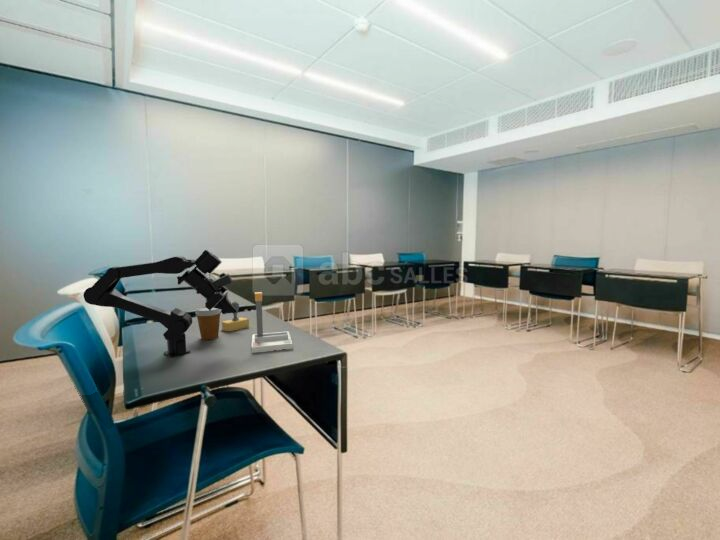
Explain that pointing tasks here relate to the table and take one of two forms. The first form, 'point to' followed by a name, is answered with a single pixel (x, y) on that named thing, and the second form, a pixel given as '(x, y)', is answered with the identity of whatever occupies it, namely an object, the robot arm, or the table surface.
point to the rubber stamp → (235, 321)
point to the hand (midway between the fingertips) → (235, 311)
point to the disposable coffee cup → (208, 322)
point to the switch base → (271, 342)
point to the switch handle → (259, 313)
